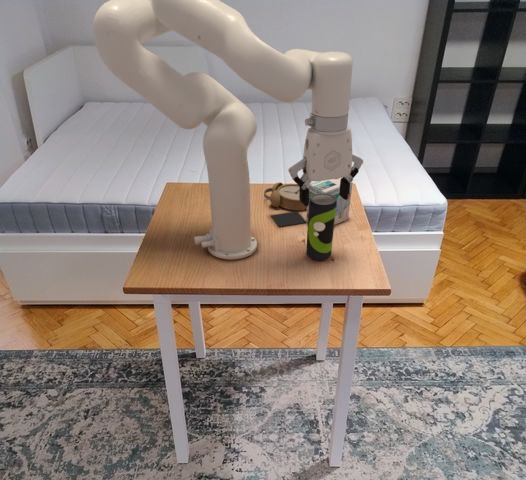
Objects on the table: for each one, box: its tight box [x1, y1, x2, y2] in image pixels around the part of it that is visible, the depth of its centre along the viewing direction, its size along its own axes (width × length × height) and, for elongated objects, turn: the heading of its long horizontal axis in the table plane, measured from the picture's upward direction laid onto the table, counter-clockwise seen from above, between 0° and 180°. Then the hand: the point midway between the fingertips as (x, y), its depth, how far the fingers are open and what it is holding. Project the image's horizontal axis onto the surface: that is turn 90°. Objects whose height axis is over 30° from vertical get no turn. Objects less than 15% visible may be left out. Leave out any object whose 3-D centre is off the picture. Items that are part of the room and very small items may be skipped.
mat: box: [270, 210, 307, 228], centre depth 139 cm, size 8×7×1 cm
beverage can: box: [305, 193, 336, 262], centre depth 119 cm, size 6×6×15 cm
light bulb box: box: [305, 178, 353, 226], centre depth 135 cm, size 11×7×11 cm, turn 129°
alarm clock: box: [263, 181, 308, 211], centre depth 146 cm, size 11×5×15 cm
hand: (324, 200), depth 114 cm, fingers open, 9 cm apart
